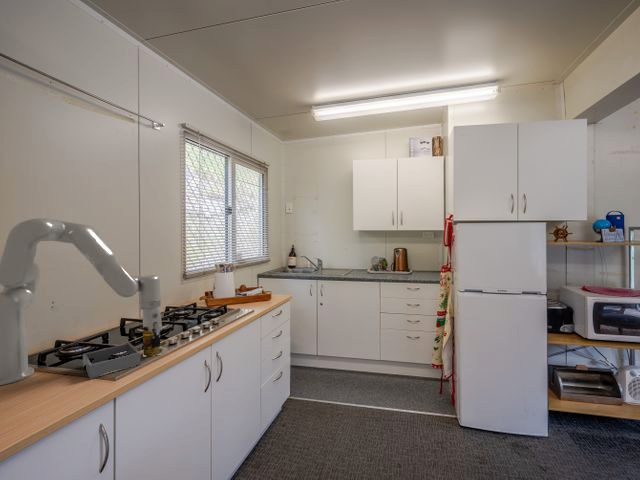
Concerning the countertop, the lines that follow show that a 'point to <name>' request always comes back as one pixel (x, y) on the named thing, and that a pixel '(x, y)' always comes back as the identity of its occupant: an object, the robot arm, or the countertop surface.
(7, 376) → the robot arm
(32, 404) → the countertop surface
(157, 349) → the condiment
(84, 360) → the bin
